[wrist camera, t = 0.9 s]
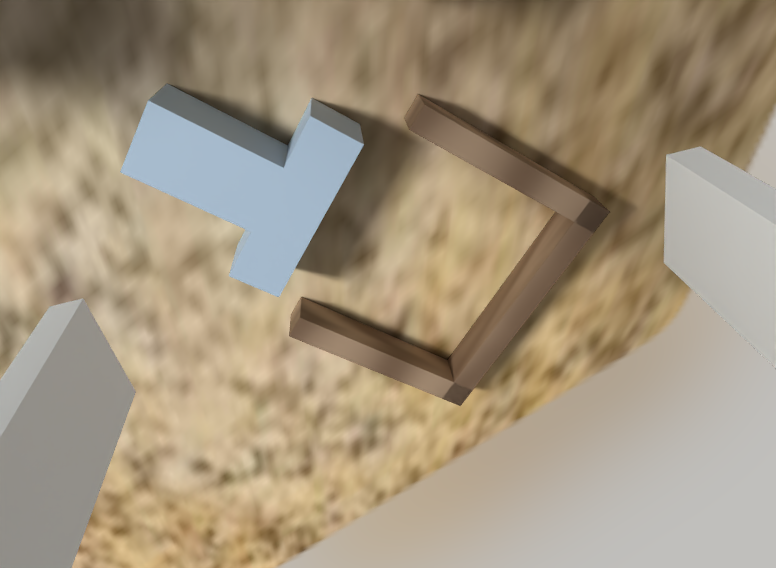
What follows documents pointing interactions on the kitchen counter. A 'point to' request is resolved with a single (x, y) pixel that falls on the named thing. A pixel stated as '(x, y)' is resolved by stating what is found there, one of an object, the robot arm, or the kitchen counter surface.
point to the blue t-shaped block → (247, 175)
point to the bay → (512, 300)
